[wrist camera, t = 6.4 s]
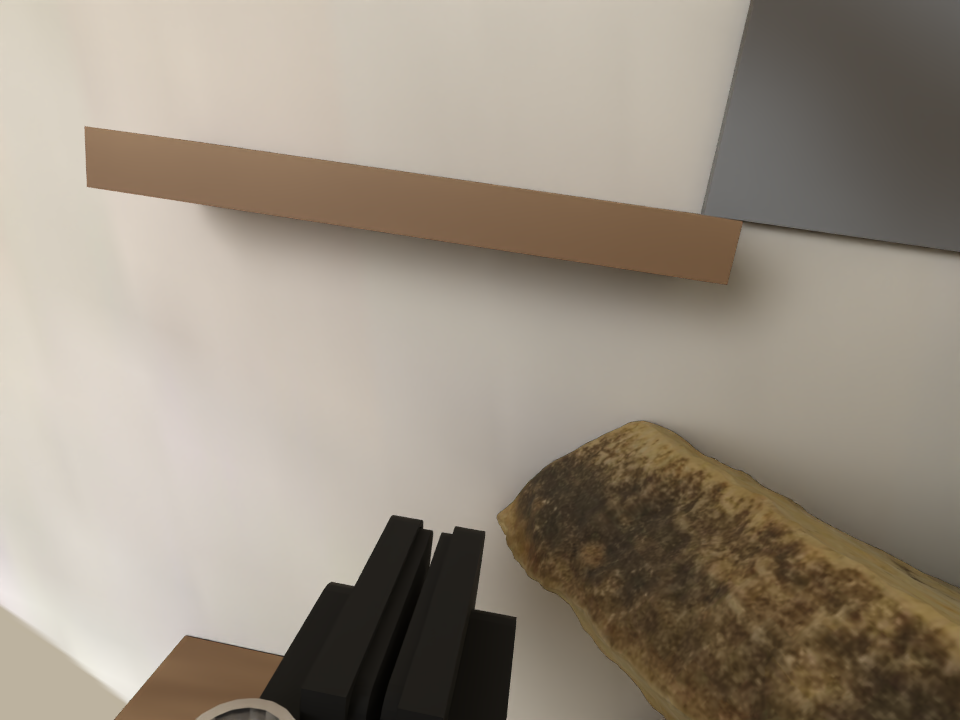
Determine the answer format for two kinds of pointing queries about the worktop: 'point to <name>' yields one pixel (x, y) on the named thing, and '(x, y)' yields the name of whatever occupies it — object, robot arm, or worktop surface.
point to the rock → (732, 589)
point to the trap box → (618, 226)
